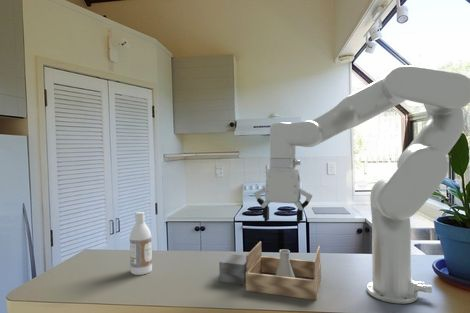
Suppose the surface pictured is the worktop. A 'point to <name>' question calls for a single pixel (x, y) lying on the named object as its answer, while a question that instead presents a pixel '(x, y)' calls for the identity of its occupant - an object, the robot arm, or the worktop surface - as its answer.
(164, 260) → the worktop surface
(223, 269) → the stand
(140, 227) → the bath foam
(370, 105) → the robot arm
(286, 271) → the flask
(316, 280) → the wooden box
